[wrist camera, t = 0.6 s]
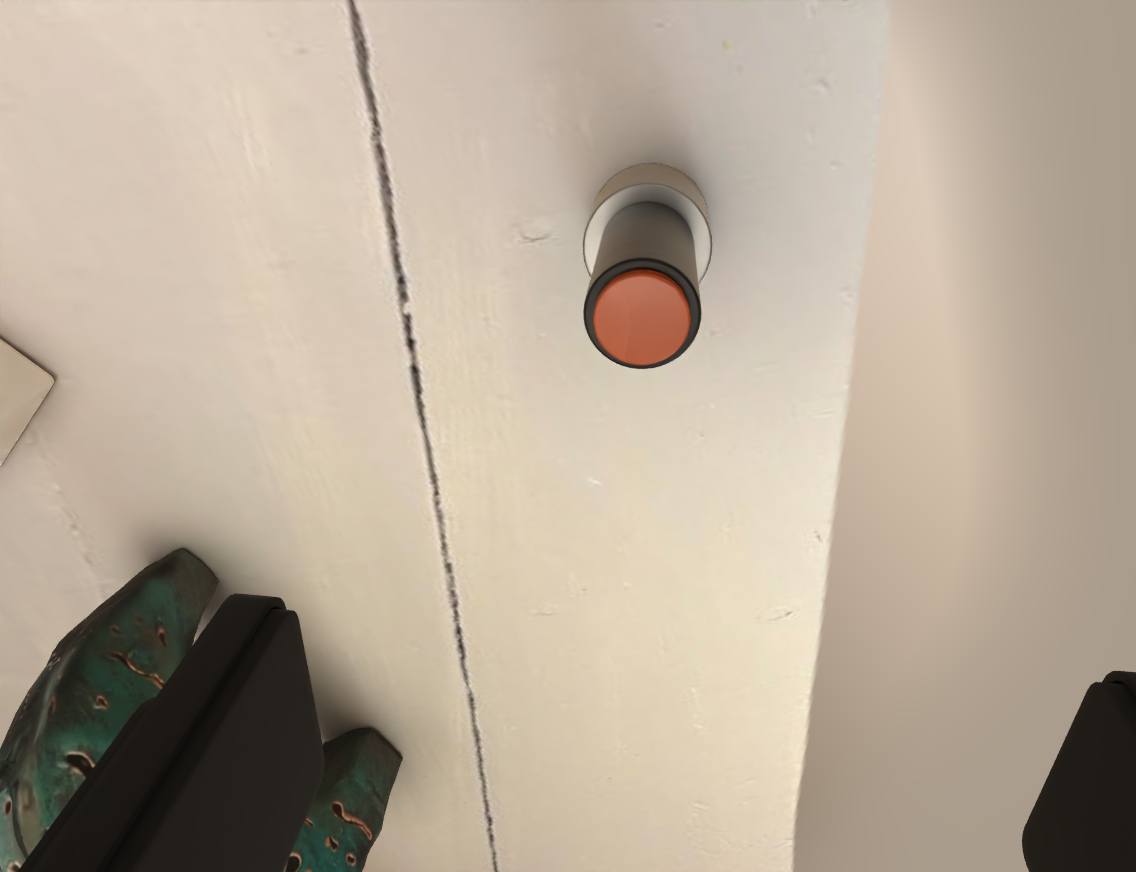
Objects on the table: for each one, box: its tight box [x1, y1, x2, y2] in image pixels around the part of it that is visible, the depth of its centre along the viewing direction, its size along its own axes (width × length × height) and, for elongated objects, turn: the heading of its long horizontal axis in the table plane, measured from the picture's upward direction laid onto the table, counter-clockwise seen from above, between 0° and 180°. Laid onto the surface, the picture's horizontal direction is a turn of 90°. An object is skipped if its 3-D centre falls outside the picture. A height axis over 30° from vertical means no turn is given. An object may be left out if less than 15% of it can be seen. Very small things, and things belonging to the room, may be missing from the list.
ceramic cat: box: [0, 549, 403, 872], centre depth 36 cm, size 20×6×20 cm, turn 33°
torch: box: [583, 164, 712, 369], centre depth 26 cm, size 4×4×10 cm
